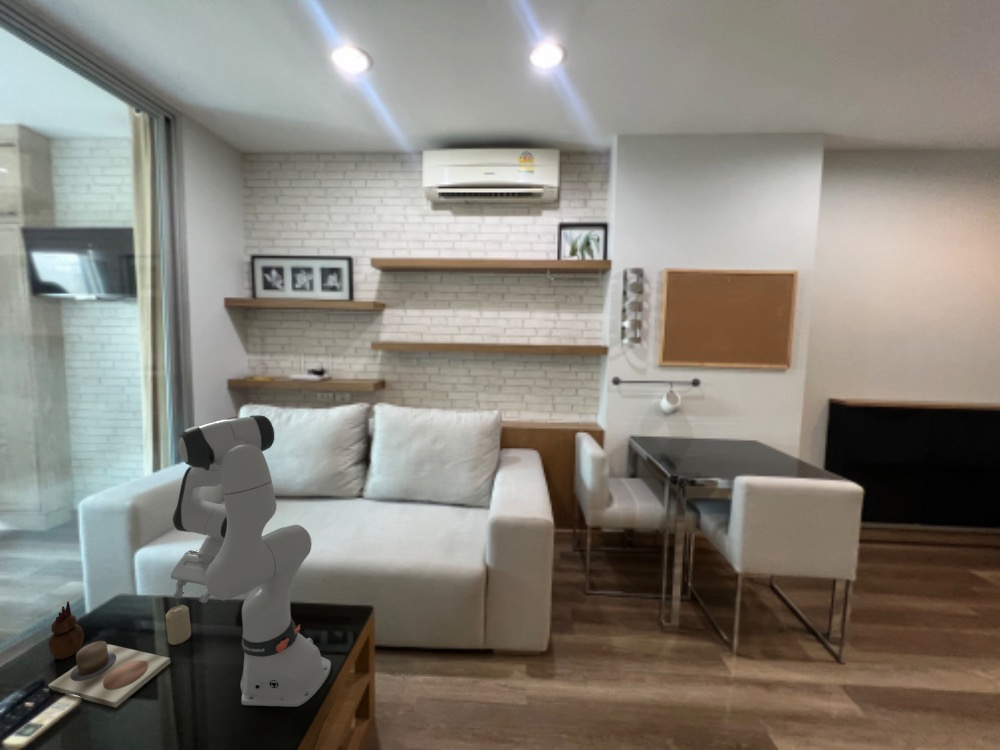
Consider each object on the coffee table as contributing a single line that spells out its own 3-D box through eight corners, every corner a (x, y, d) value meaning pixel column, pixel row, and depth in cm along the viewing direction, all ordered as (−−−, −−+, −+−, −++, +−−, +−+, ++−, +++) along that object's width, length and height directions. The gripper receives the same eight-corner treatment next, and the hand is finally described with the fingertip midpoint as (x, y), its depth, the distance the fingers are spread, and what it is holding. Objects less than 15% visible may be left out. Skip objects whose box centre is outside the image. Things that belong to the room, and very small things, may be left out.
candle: (188, 628, 132) (184, 598, 130) (193, 637, 128) (190, 606, 127) (166, 638, 128) (162, 608, 126) (171, 648, 124) (167, 616, 123)
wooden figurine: (77, 642, 126) (70, 595, 124) (89, 648, 124) (82, 601, 122) (47, 659, 120) (39, 610, 117) (58, 666, 118) (50, 616, 115)
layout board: (170, 662, 119) (168, 641, 118) (115, 707, 105) (112, 683, 104) (108, 648, 124) (105, 627, 123) (48, 690, 110) (45, 666, 109)
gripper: (181, 545, 138) (154, 592, 130) (234, 554, 134) (209, 603, 126) (194, 551, 143) (169, 596, 135) (246, 559, 139) (223, 607, 131)
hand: (189, 600), depth 131 cm, fingers open, 8 cm apart
